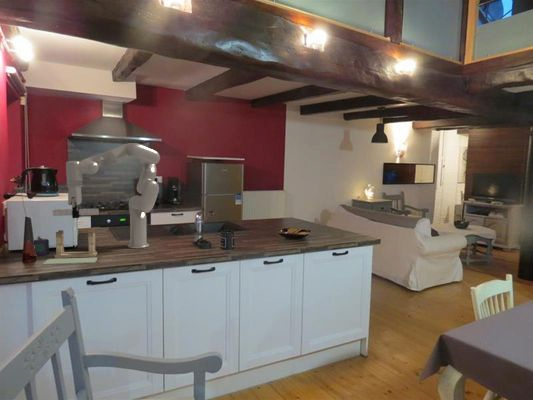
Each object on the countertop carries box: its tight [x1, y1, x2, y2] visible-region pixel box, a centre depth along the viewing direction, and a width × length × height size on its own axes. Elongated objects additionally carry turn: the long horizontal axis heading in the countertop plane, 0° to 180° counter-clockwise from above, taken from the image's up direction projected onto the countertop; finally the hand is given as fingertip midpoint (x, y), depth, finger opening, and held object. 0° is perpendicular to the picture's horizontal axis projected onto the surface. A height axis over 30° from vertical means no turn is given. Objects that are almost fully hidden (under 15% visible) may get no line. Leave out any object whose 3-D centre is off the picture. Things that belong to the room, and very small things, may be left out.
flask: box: [33, 235, 50, 257], centre depth 201 cm, size 9×3×11 cm, turn 117°
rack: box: [54, 229, 98, 259], centre depth 203 cm, size 6×20×14 cm, turn 105°
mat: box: [41, 256, 98, 266], centre depth 192 cm, size 9×24×1 cm, turn 105°
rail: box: [52, 208, 100, 217], centre depth 201 cm, size 3×22×3 cm, turn 105°
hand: (76, 217), depth 201 cm, fingers closed on rail, 3 cm apart
